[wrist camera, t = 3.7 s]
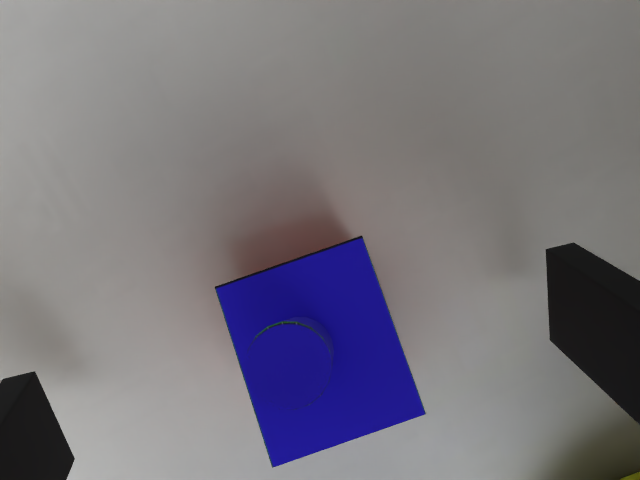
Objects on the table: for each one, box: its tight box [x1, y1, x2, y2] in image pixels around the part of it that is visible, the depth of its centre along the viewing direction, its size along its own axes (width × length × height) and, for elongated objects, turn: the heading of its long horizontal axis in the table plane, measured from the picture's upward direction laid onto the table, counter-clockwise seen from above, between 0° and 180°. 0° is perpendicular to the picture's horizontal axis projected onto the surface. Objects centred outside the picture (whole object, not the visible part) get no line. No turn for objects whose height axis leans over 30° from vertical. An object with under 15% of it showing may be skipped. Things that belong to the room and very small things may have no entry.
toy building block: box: [215, 236, 426, 468], centre depth 13 cm, size 4×4×8 cm
